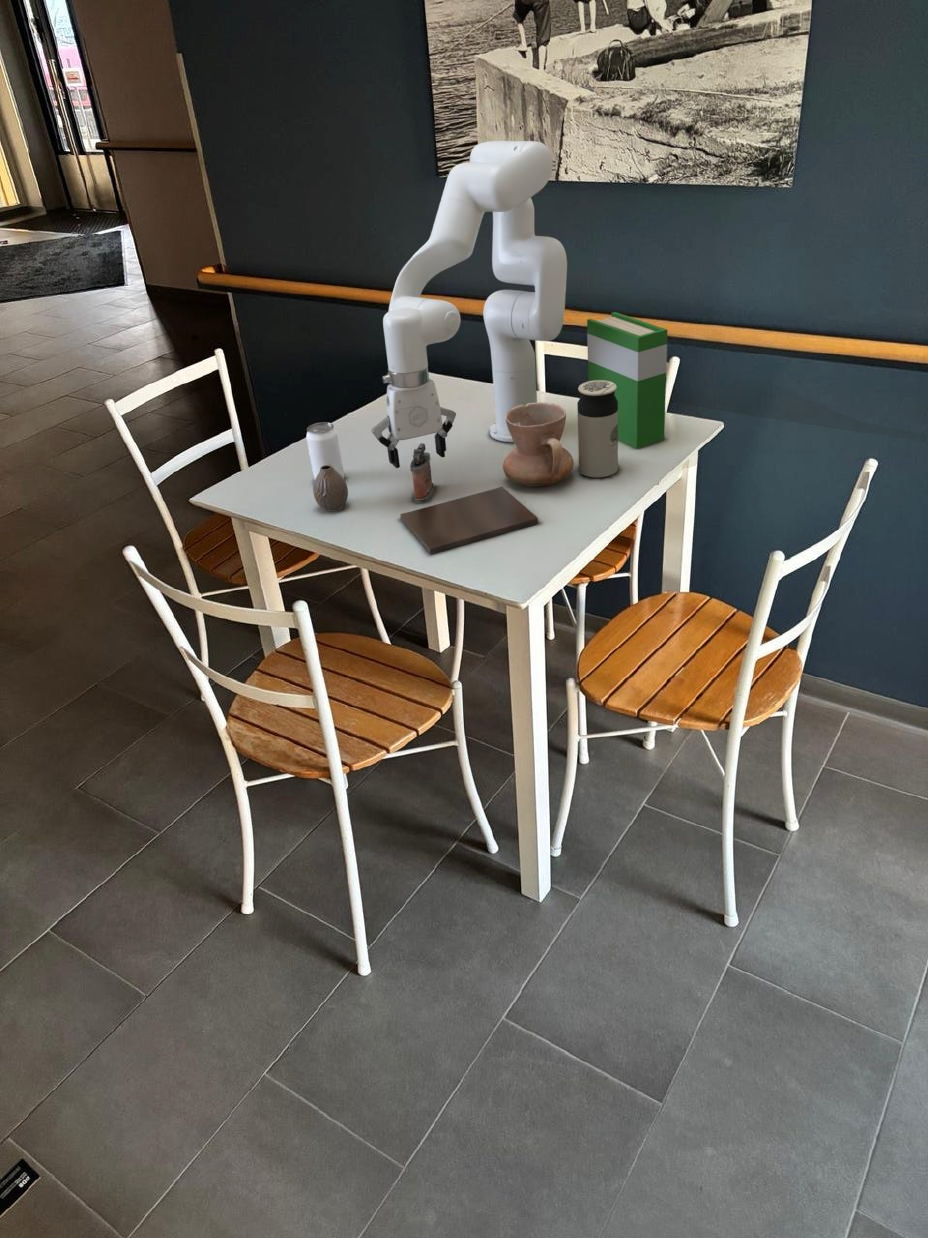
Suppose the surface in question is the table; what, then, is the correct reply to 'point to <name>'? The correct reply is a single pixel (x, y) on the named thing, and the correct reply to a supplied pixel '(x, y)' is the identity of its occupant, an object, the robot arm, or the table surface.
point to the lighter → (421, 474)
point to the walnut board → (468, 519)
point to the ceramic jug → (537, 445)
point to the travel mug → (598, 429)
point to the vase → (330, 489)
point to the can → (324, 447)
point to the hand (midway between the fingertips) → (418, 460)
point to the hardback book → (631, 373)
